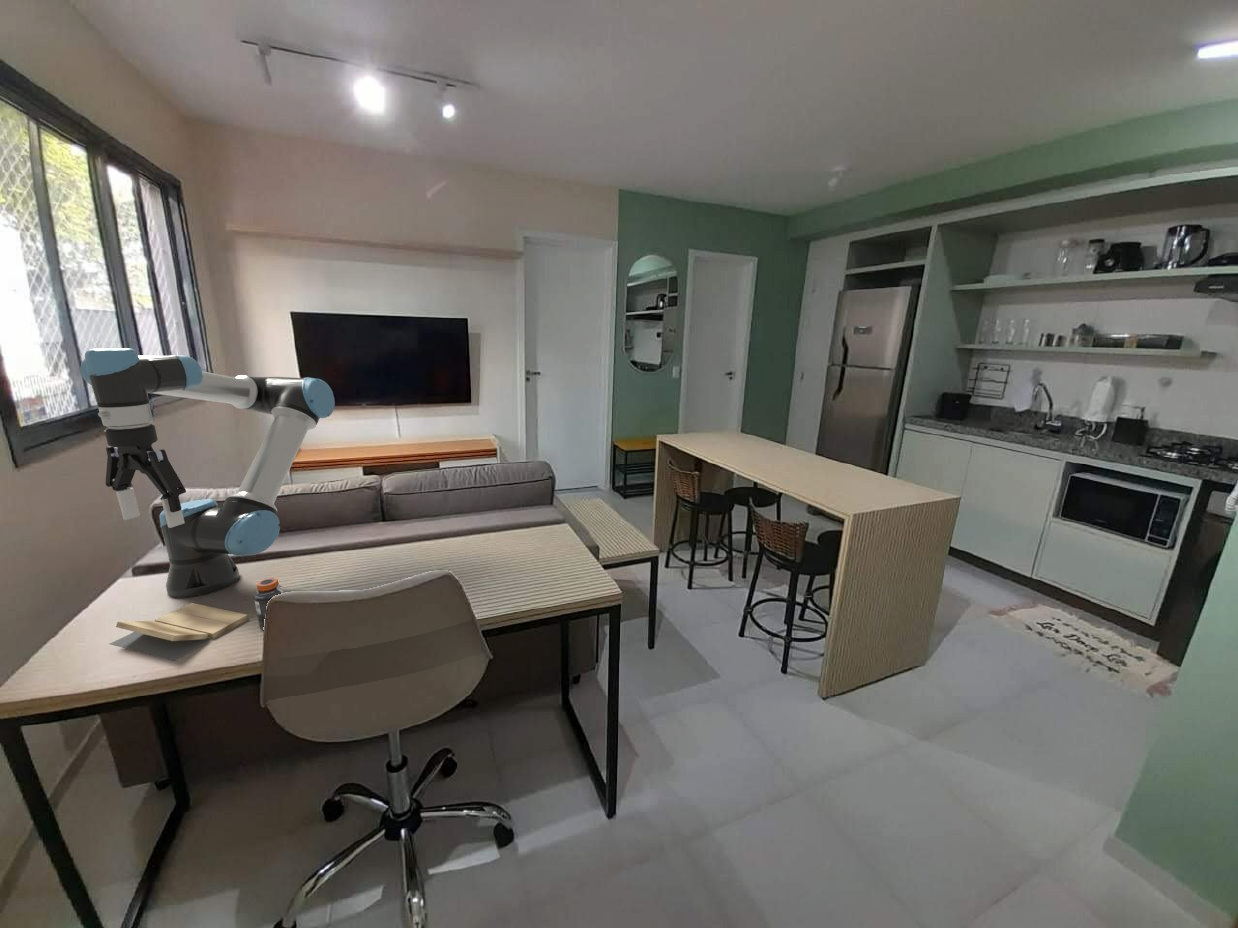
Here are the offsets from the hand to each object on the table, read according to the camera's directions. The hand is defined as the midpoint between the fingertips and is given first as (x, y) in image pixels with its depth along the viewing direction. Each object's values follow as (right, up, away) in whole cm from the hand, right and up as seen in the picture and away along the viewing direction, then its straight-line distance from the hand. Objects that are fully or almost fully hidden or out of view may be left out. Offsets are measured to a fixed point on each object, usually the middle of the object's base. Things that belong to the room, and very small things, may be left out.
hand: (154, 521), depth 107 cm
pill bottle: (+20, -26, +9) cm, 34 cm away
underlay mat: (+1, -26, +6) cm, 27 cm away
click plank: (+1, -25, +1) cm, 25 cm away
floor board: (+3, -25, +9) cm, 27 cm away
